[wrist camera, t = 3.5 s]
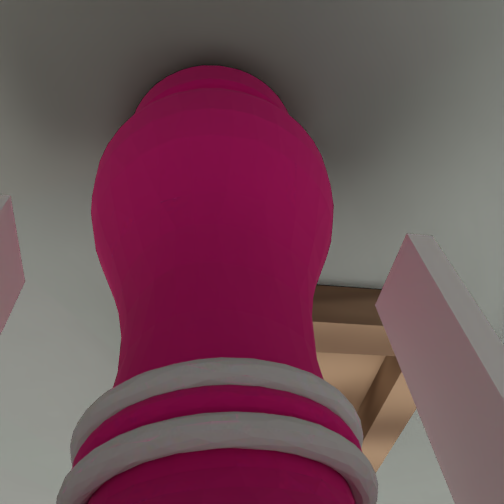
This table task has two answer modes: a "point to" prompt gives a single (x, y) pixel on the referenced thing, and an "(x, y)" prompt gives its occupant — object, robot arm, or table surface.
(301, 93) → the table surface
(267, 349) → the pepper mill
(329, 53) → the table surface
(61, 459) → the table surface
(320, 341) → the walnut holder
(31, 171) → the table surface
